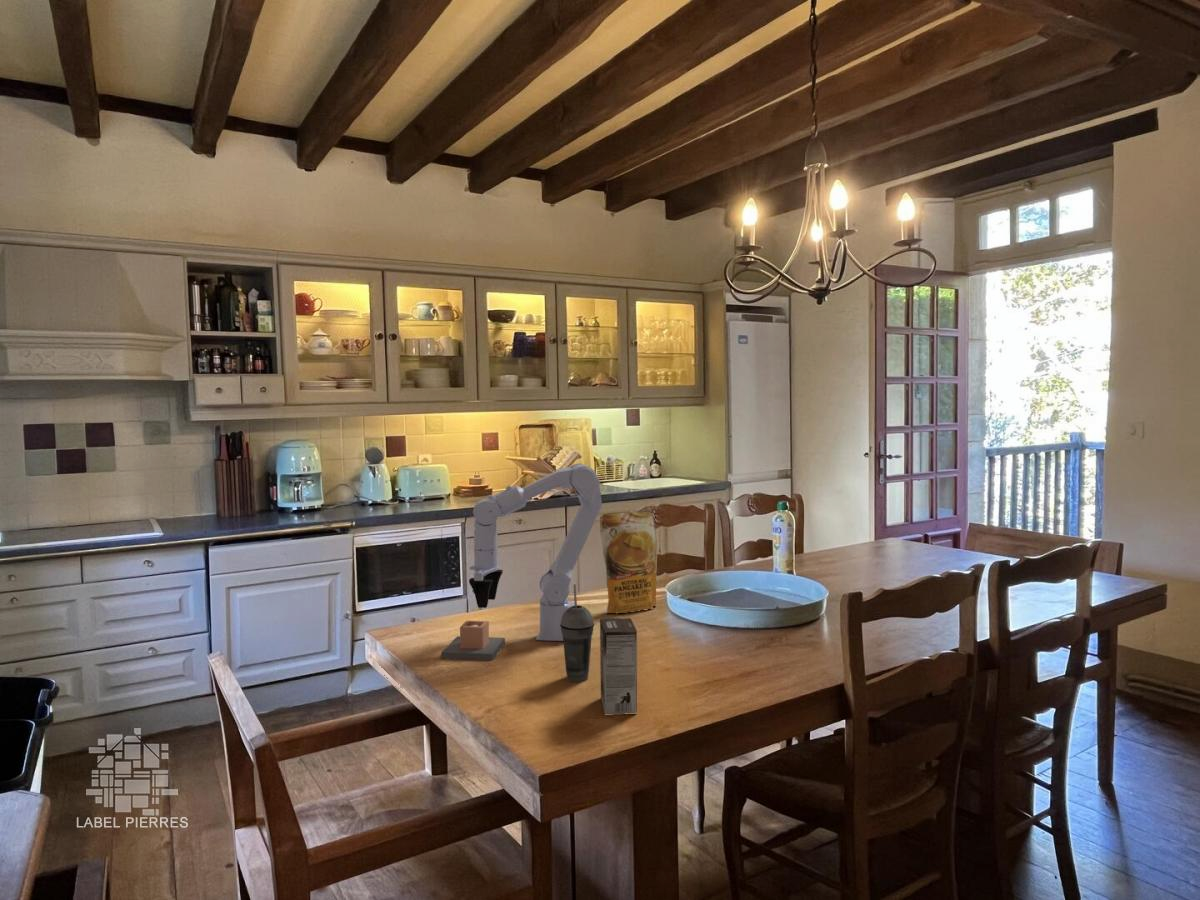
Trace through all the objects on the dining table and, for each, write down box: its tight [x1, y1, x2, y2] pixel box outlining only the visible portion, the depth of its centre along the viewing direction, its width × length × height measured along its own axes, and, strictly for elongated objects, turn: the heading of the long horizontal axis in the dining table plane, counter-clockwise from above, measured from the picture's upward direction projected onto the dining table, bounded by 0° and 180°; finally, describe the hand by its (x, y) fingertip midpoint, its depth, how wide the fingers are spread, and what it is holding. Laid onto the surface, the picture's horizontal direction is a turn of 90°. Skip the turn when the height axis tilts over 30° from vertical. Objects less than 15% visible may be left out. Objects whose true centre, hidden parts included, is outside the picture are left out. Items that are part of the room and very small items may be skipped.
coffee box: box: [599, 617, 638, 715], centre depth 146 cm, size 9×6×16 cm
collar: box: [459, 620, 490, 649], centre depth 179 cm, size 5×5×5 cm
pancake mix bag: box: [599, 510, 658, 615], centre depth 214 cm, size 7×19×28 cm, turn 117°
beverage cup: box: [560, 583, 595, 683], centre depth 161 cm, size 7×7×20 cm
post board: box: [441, 625, 506, 661], centre depth 179 cm, size 12×12×6 cm
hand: (486, 603), depth 187 cm, fingers open, 7 cm apart
